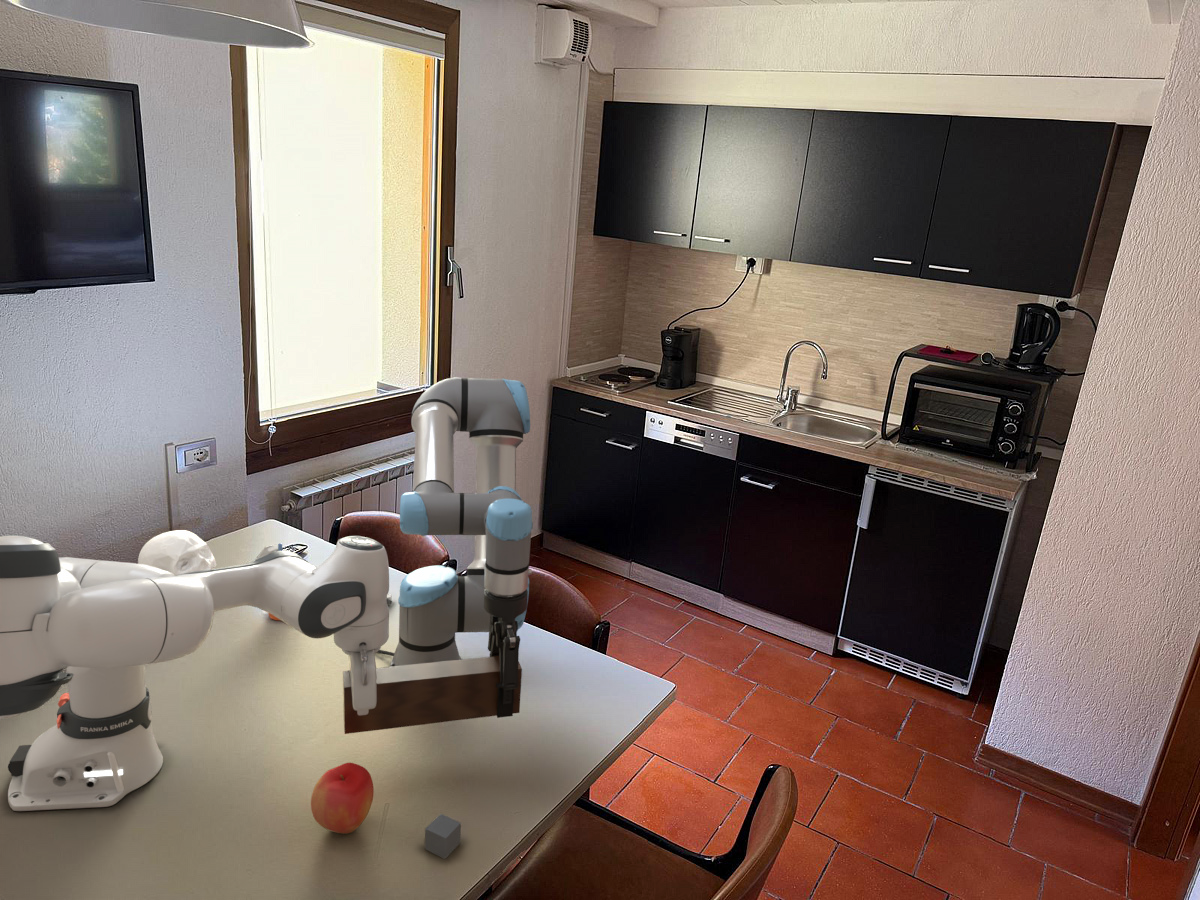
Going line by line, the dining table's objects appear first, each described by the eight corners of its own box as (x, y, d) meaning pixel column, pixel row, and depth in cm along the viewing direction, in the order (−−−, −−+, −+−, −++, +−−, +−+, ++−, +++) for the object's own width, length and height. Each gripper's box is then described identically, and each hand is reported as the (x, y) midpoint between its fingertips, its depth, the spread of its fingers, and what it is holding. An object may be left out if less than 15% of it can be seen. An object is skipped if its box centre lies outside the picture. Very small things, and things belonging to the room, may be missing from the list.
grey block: (424, 849, 135) (425, 828, 134) (440, 833, 139) (440, 813, 138) (445, 859, 134) (445, 838, 132) (460, 843, 137) (461, 822, 136)
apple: (348, 797, 145) (348, 747, 142) (386, 823, 140) (386, 772, 137) (300, 828, 137) (298, 775, 134) (338, 857, 132) (337, 803, 129)
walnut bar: (344, 734, 143) (344, 687, 141) (343, 716, 148) (342, 671, 145) (519, 712, 153) (522, 668, 150) (513, 697, 157) (515, 654, 155)
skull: (203, 615, 198) (200, 551, 194) (126, 596, 203) (122, 534, 199) (242, 593, 210) (240, 533, 206) (168, 575, 216) (165, 517, 212)
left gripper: (386, 660, 133) (385, 736, 137) (376, 599, 151) (376, 668, 155) (343, 664, 131) (344, 741, 135) (339, 602, 149) (340, 671, 153)
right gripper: (541, 613, 139) (533, 734, 146) (515, 562, 157) (509, 672, 164) (495, 617, 137) (490, 739, 144) (474, 565, 155) (470, 676, 161)
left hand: (361, 701), depth 145 cm, fingers closed on walnut bar, 5 cm apart
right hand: (500, 703), depth 154 cm, fingers open, 7 cm apart
